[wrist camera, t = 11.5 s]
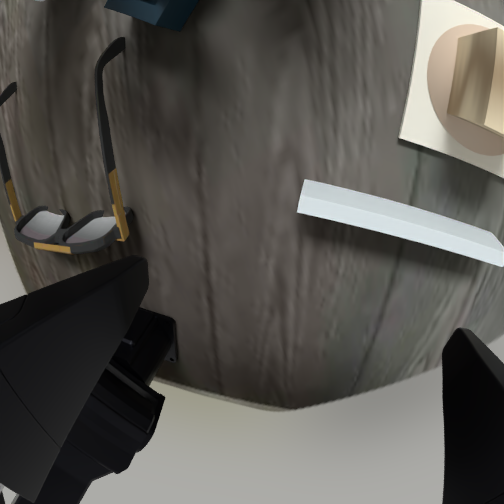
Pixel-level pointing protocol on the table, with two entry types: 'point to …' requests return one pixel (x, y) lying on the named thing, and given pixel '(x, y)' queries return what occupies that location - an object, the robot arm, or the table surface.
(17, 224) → the sunglasses
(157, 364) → the robot arm
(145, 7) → the watch
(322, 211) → the low wall
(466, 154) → the pad
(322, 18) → the table surface
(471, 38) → the maple block
